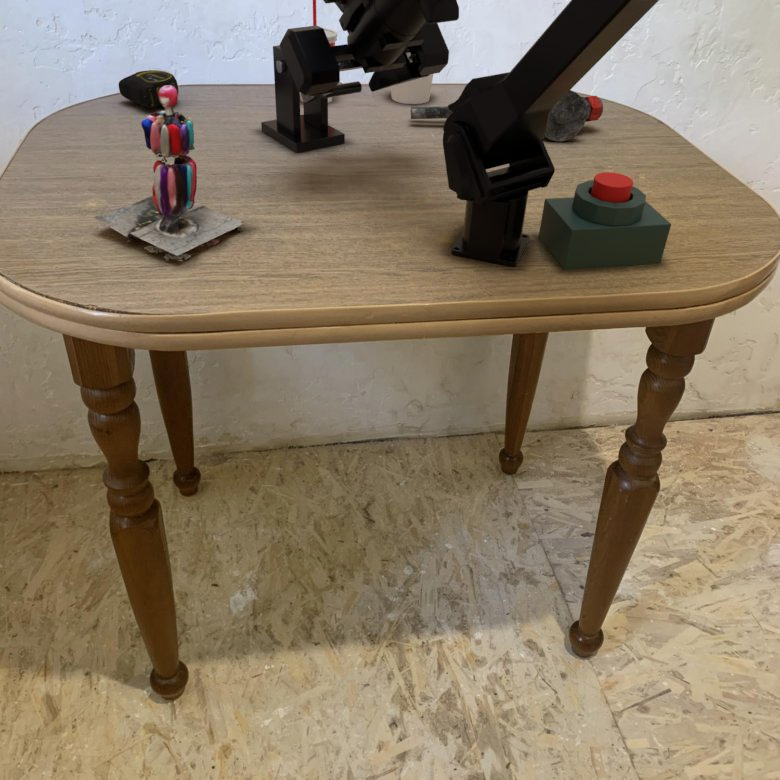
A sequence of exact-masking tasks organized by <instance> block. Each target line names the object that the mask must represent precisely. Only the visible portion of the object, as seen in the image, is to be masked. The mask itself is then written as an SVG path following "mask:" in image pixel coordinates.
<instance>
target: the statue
mask: <svg viewBox="0 0 780 780" xmlns="http://www.w3.org/2000/svg"><path fill="white" fill-rule="evenodd" d="M159 98H160V101H161V104H162V105H161V106H162V107H163V108H164V110H161V111H160V112H156V111H154V112H152V113H150V114H149V115H147V117H145V119H143V120H142V121H141V124H140V126H141V128H142V130H143V135H144V140H145V146H146V148H147V149H148V150H150V151H151V152H152V153H153V154H154V155H155V156H156V158H161V160H158V159H157V160H156V161H155V162H154V164H153V168H152V171H153V173H154V174H153V185H152V195H151V196H149V197H148V196H147V197H146V198H143V199H141V200H139V201H137V202H134V203H132V204H128V205H125V206H120V207H118V208H116V209H113V210H111V211H108V212H105V213H101V214H98V215H94V216H93V219H95V220H98V221H99V222H101V223H103V224H104V225H106V226H107V227H109V228H111V229H112V230H114V231H116V232H117V233H119V234H120V235H122V236H124V237H126V238H127V240H126V243H130V242H132V241H133V240H136V239H137V238H138V239H140V240H141V241H144V242H147V243H148V244H151V245H148V246H145V247H143V249H144V250H147V251H148V252H149V253H153V254H158V253H165V255H164V256H163V258H164V259H165V261H170V260H176V261H178V262H183V261H185V260H188V259H189V258H191V256H192V254H187V253H186V252H189V251H191V250H195V248H196V247H201V248H202V247H204V244H205V243H206V245H207V246H216V245H217V244H218V243H220V241H221V239H220V238H218V237H220V236H222V235H224V234H226V233H229V232H232V231H234V230H235V229H236V228H237V229H236V231H238V232H244V231H246V227H243V226H242V225H244V224H246V222H245V221H243V220H240V219H238V218H235V217H232V216H229V215H226V214H223V213H221V212H218V211H217V210H215V209H213V208H209V207H208V206H205V205H204V204H202V203H200V202H198V201H196V200H195V198H196V194H197V193H196V192H197V183H198V176H197V175H198V174H197V171H198V170H197V163H196V162H195V160H194V159H193V158H192V156H190V155H189V154H190V151H193V150H196V148H195V147H194V146H195V131H194V121H193V120H192V119H193V118H191V117H185V115H184V114H182V113H180V112H179V111H174V108H175V107H176V105H177V103H178V98H179V94H178V95H177V90H176V89H175V87H174V86H172V85H167V86H163V87H162V88H161V89H160V90H159ZM168 158H173V159H174V160H173V164H170V163H167V162H168ZM183 259H184V260H183Z"/></svg>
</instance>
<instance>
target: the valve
mask: <svg viewBox="0 0 780 780" xmlns="http://www.w3.org/2000/svg"><path fill="white" fill-rule="evenodd" d="M451 112H452V111H451V110H450V109H448V105H447V106H446V105H444V106H410V120H433V119H434V120H435V119H436V120H438V119H447V117H448V115H449V114H450V113H451ZM603 112H604V104H603V101H602V99H601V98H600V97H598V96H597V95H590V96H581V95H580V94H578V93H577V92H575V91H573V90H572V89H571V90H570V91H569V92H568V93H567V94H566V95H565V96H564V97H563V98H562V99H561V100H560V101H559V102H558V103H557V104H556V105H555V106H554V107H553V108H552V109H551V111H550V113H549V120H548V126H547V130H546V133H545V134H544V135H543V137H545V138H547V139H549V140H550V141H554V142H565V141H568V140H570V139H573V138H574V137H576V136H577V135H578V134H579V133H580V132H581V131H582V129H583V128H584V126H585V124H586V122H587V123H588V122H595V121H599V119H600V118H601V116H602V115H603Z"/></svg>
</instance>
